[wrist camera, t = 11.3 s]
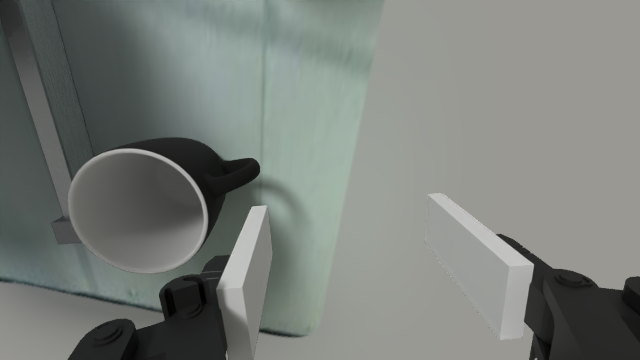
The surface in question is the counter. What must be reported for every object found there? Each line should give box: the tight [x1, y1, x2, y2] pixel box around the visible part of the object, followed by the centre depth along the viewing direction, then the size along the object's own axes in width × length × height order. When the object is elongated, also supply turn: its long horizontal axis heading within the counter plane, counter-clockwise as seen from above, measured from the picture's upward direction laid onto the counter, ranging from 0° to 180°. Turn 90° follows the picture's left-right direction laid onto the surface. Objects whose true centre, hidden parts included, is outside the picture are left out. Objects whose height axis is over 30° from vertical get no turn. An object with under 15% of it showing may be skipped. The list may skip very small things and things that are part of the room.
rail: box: [0, 0, 94, 244], centre depth 26 cm, size 2×24×4 cm, turn 3°
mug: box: [68, 138, 260, 274], centre depth 25 cm, size 12×9×10 cm
